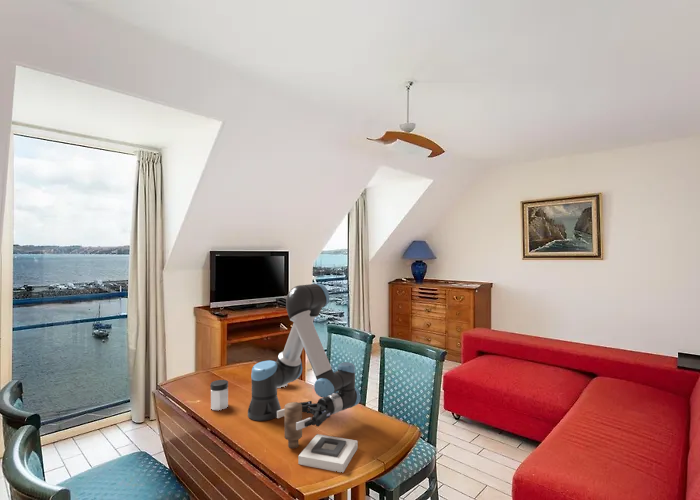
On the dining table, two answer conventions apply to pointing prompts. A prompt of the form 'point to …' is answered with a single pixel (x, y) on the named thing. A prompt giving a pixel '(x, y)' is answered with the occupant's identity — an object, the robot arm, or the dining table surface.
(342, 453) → the frame
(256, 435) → the dining table surface
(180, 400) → the dining table surface
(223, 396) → the jar
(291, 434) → the peg
